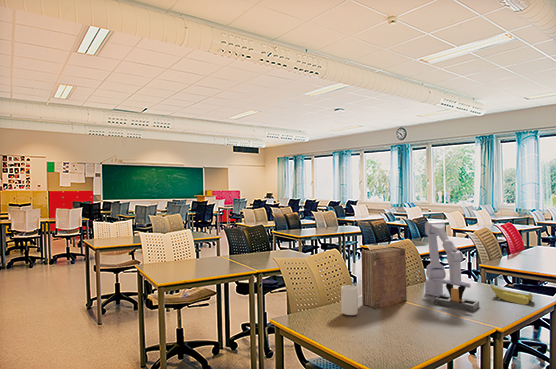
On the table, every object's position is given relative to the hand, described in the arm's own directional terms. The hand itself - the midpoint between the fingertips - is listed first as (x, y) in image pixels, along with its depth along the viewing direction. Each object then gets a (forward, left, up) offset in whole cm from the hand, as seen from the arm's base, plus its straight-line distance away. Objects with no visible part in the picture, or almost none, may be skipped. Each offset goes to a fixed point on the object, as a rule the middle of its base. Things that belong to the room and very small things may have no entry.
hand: (456, 298), depth 198 cm
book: (-31, -21, -4) cm, 38 cm away
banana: (+19, +30, -4) cm, 36 cm away
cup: (-35, -50, -4) cm, 61 cm away
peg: (0, 0, -3) cm, 3 cm away
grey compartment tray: (0, 0, -4) cm, 4 cm away
